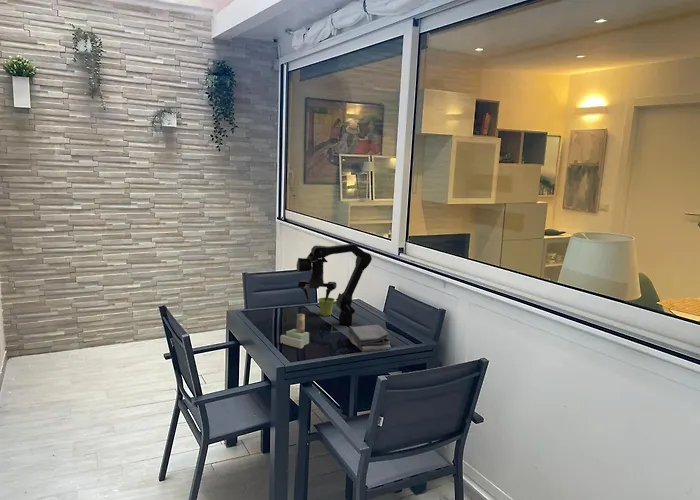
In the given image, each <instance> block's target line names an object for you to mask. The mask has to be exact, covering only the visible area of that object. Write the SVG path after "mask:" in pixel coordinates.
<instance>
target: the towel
mask: <svg viewBox="0 0 700 500" xmlns="http://www.w3.org/2000/svg"><path fill="white" fill-rule="evenodd" d="M389 336H390V333H388V331H386V330H385V329H384V328H383V327H381V325H379V324H373V325H372V324H370V325H361V326H350V327H349V328H348V339H349V341H350V342H351V343H352V344H353V346H354V345H355V347H357V348H358V349H359V350H360V351H361V352H371V351H372V352H373V351H381V350H380V349H385V350H389V349H388V348H391V349H392V347H391V345H390V344H391V342H390V337H389Z"/></svg>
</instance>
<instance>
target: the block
mask: <svg viewBox="0 0 700 500" xmlns="http://www.w3.org/2000/svg"><path fill="white" fill-rule="evenodd" d="M285 333H286V334H285V335H287V336H290V337H294V338H298V339H301V340H304V346H306V345H308V344H310V332H308V331H304V333H298V332H297V328H292V329H290V330H288V331H285Z"/></svg>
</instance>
